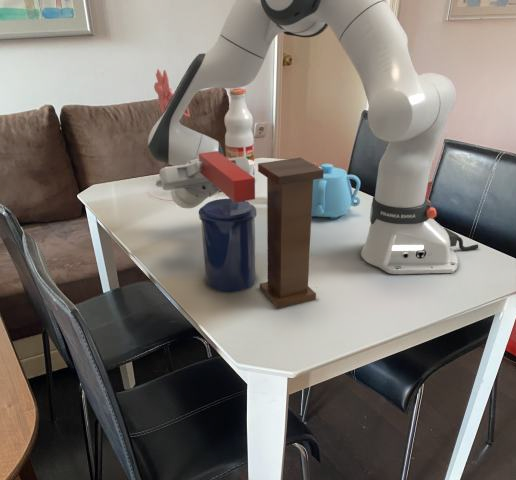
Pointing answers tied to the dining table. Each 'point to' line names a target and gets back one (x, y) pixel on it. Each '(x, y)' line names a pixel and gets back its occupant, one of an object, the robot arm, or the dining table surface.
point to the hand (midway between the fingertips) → (213, 163)
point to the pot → (229, 244)
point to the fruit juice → (239, 127)
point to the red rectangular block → (228, 177)
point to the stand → (289, 230)
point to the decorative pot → (333, 193)
